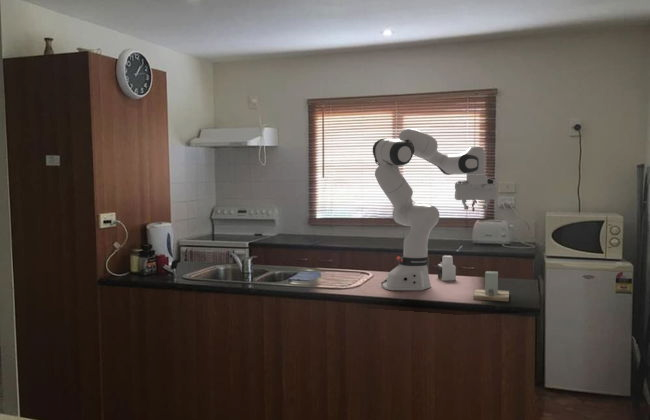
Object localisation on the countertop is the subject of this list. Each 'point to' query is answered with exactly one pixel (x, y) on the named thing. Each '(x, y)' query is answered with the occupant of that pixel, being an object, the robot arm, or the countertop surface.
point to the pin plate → (494, 298)
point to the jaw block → (491, 282)
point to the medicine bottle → (446, 268)
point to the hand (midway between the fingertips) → (475, 209)
